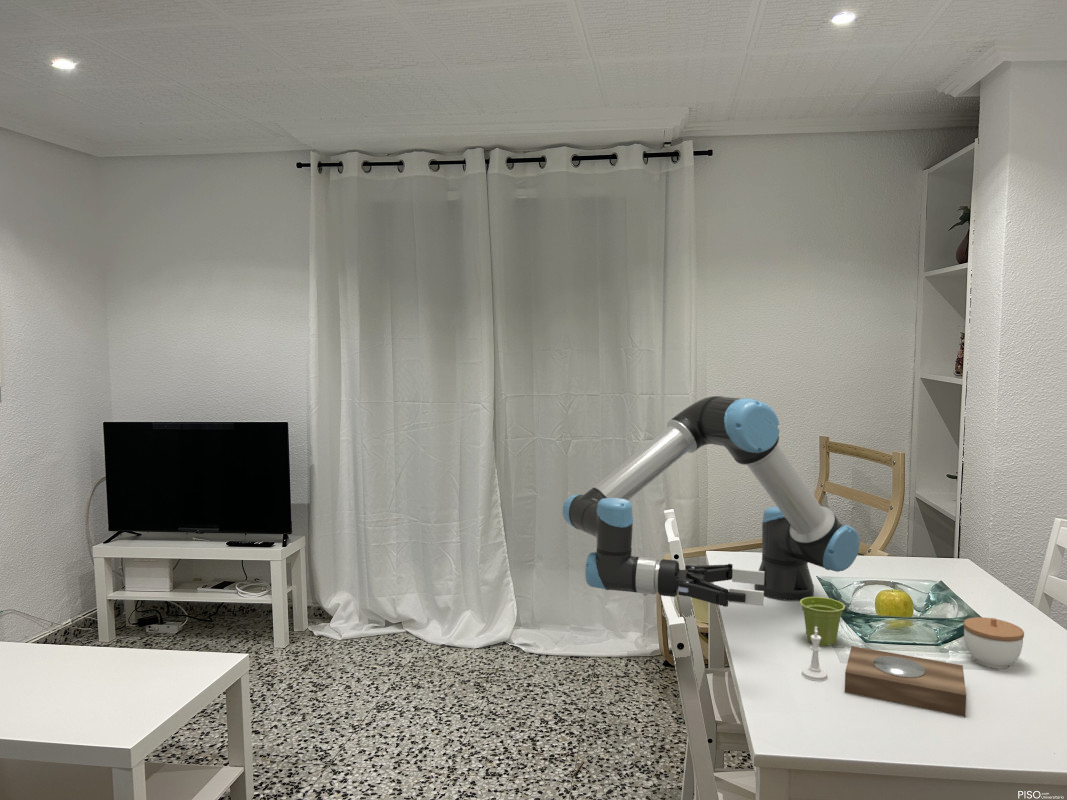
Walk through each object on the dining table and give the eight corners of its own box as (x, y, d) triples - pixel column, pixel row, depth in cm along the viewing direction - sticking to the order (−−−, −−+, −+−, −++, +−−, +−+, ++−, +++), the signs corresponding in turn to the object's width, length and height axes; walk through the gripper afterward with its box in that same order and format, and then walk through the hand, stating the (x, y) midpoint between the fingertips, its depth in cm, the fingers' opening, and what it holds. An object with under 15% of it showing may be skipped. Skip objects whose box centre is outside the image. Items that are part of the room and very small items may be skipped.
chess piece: (826, 671, 151) (827, 624, 150) (829, 682, 146) (830, 633, 145) (800, 669, 152) (802, 621, 151) (802, 679, 147) (804, 630, 147)
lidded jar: (950, 656, 159) (952, 613, 158) (986, 648, 162) (988, 607, 162) (997, 677, 149) (999, 631, 148) (1034, 668, 152) (1037, 624, 152)
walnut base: (850, 664, 154) (851, 644, 154) (961, 685, 145) (962, 663, 145) (844, 692, 142) (845, 670, 142) (965, 716, 133) (966, 693, 132)
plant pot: (795, 644, 164) (796, 606, 164) (802, 630, 173) (803, 593, 172) (841, 653, 160) (842, 613, 159) (845, 637, 168) (846, 600, 168)
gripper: (666, 577, 169) (763, 587, 163) (649, 614, 145) (762, 627, 139) (667, 544, 169) (765, 553, 162) (650, 576, 145) (764, 588, 138)
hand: (764, 588), depth 151 cm, fingers open, 13 cm apart
